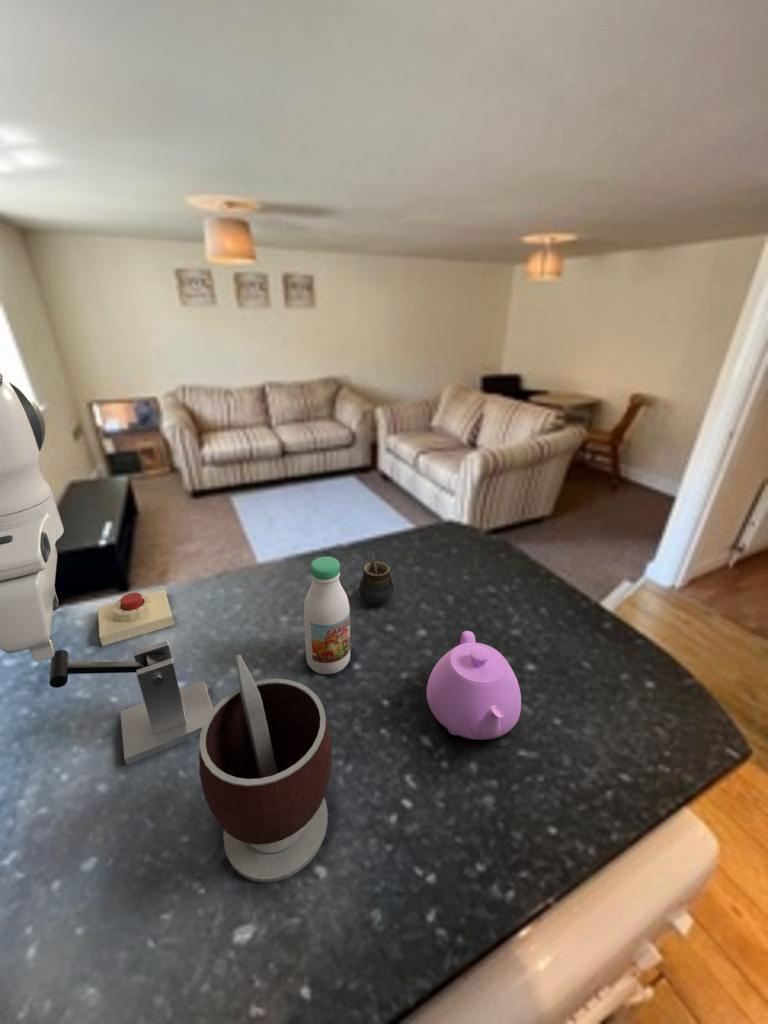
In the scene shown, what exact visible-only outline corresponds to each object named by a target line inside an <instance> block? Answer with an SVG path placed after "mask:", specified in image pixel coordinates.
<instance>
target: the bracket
mask: <svg viewBox="0 0 768 1024" xmlns="http://www.w3.org/2000/svg"><path fill="white" fill-rule="evenodd" d="M132 653H133V659H134V662H144V659H145V656H146V655H167V656H168V660H165V661H162V662H159V663H156V664H153V665H150V666H147V667H144V668H141V669H138V670H136V678H137V682H138V685H139V688H140V691H141V696H142V699H143V702H141V703H139V704H136V705H133V706H131V707H127V708H125V709H123V710H120V711H119V715H120V716H119V717H120V726H121V736H122V746H123V747H122V748H123V756H124V757H123V758H124V763H125V765H126V766H129V765H132V764H134V763H136V762H139V761H141V760H143V759H146V758H148V757H150V756H153V755H156V754H158V753H160V752H162V751H165V750H168V749H169V748H172V747H174V746H177V745H180V744H181V743H184V742H186V741H189V740H191V739H193V738H197V737H198V736H200V734H201V731H202V728H203V724H204V722H205V720H206V719H207V717H208V715H209V713H210V712H211V711H212V710H213V708H214V707H213V705H212V704H213V703H212V701H211V698H210V695H209V692H208V689H207V685H206V681H205V680H201V681H199V682H196V683H193V684H190V685H188V686H185V687H182V688H180V687H179V682H178V679H177V674H176V669H175V665H174V661H173V657H172V654H171V649H170V645H169V640H166V641H165V640H164V641H162V642H159V643H155V644H152V645H149V646H146V647H142V648H140V649H136V650H133V652H132Z"/></svg>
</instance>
